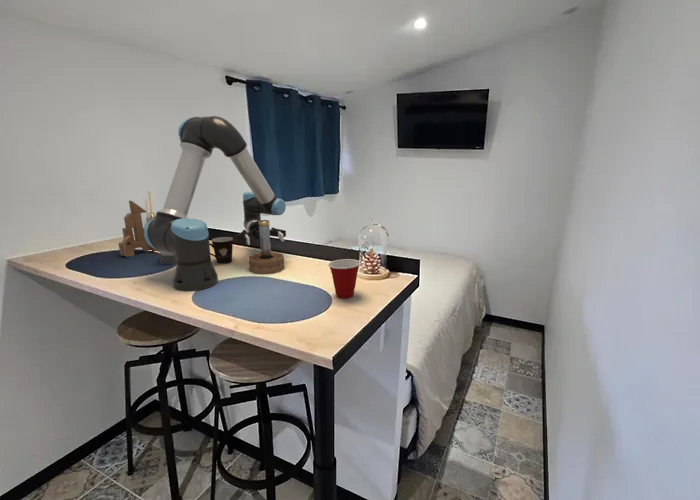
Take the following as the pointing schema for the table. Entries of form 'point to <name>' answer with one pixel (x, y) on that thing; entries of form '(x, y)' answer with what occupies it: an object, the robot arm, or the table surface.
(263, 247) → the metal rod
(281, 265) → the brown thick ring
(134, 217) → the wooden toy
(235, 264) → the table surface
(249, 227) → the robot arm
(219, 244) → the coffee mug
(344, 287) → the plastic cup
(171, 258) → the alarm clock
